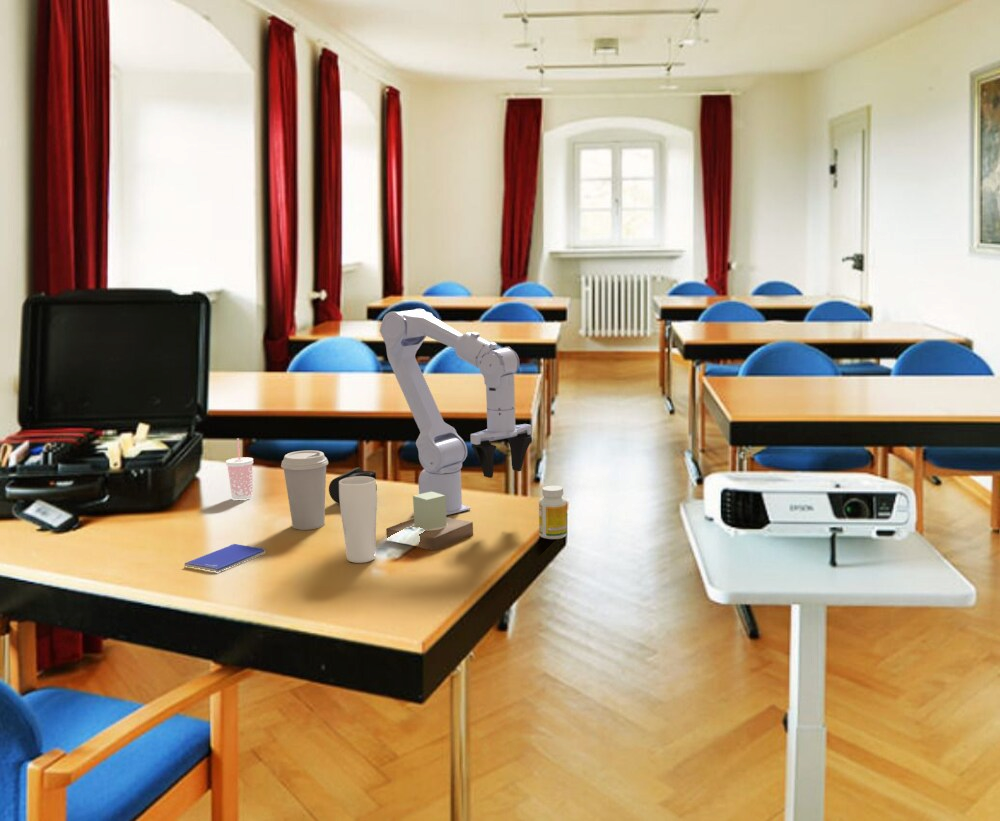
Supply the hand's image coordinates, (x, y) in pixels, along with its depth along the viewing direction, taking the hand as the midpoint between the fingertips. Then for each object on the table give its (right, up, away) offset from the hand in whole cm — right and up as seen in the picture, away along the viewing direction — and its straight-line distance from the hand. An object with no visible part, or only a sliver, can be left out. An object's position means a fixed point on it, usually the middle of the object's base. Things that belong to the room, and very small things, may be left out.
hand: (502, 473), depth 208 cm
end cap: (-33, -8, +21) cm, 40 cm away
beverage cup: (-60, -7, +26) cm, 66 cm away
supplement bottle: (+10, -12, -10) cm, 18 cm away
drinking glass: (-26, -15, -21) cm, 36 cm away
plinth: (-14, -12, -9) cm, 21 cm away
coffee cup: (-40, -11, +2) cm, 42 cm away
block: (-14, -10, -9) cm, 19 cm away
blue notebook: (-52, -16, -19) cm, 57 cm away
